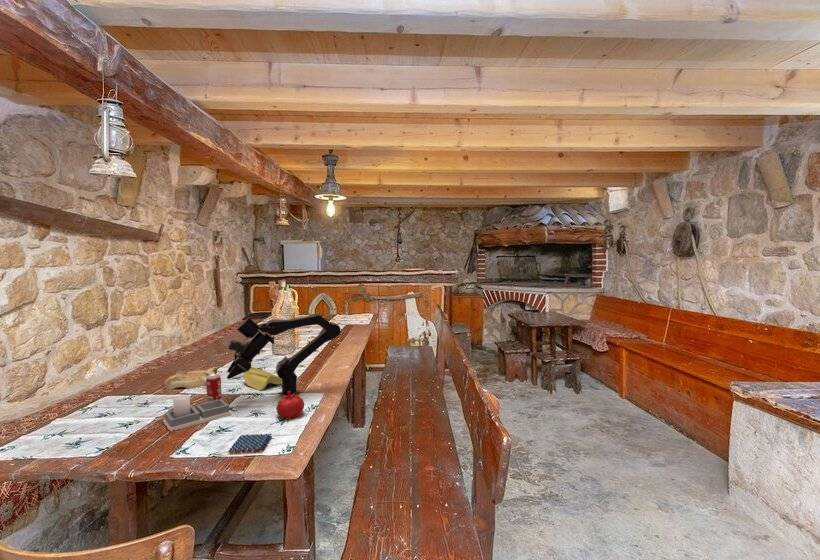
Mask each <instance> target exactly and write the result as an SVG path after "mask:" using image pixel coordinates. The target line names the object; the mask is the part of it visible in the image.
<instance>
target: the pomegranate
mask: <svg viewBox="0 0 820 560" xmlns="http://www.w3.org/2000/svg"><path fill="white" fill-rule="evenodd" d="M290 392H291V391H288V392H287V393H288V396H284V395H279V397H280V400H279V401H278V402H277V405H276V413H277V416H279V417H280V418H282V419H287V420H289V419H293V418H296V417H297V416H298V417H299V415H301V413H302V412H303V411H304V408H305V401H304V399H303V398H302V397H301V395H299V394H295V393H294V394H295V395H294V394H293V395H290Z"/></svg>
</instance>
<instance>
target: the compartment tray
mask: <svg viewBox="0 0 820 560" xmlns="http://www.w3.org/2000/svg"><path fill="white" fill-rule="evenodd" d="M172 402H173V408H172V409H173V410H170V411H166V412H164V418H163V424H164V425H165V427H166V426H167V427H166V428H167V429H168V431H169V430H170V431H171V432H174V431H173V430H175V431H178V429H179V430H182V429H185V428H189V427H194V426H197V425H200V424H203V423H207V422H211V421H215V420H217V419H221V418H225V417H228V416H229V417H230V416H232V411H231V410H230V405H229V403H227V402H226V401H224V400H223V398H222V399H219V400H214V401H210V402H207V401H206V402H203V403H199V404H196V405H195V406H194V405H191V396H190V395H188V394H182V395H178V396H175V397H174V398H172ZM170 431H169V432H170Z"/></svg>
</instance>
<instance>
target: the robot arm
mask: <svg viewBox="0 0 820 560" xmlns="http://www.w3.org/2000/svg"><path fill="white" fill-rule="evenodd" d="M312 325H318V326H320V327H321V328H322V329H321V331H320V332H319V333H318V335H317V336H315V337H314V338H313V339H312V340H310V341H309V342H308V343H307V344H306V345H305V346H303V347H302V348H301V349H300V350H299V351H297V352H296V353H294V355H292V356H290V357H287V355H285V356H284V357H283V358H282V359H280V360H279V361H278V362H277V365H276V366H275V371H276V372H275V373H276V374H277V376H278V377H280V378H281V379H282V382H281V391H280V392H278V395H279V396H281V395H284V396H288V393H287V392H288V391H291V392H290V395H293V394H294V393H295V394H298V395H299V394H300V393H301V392H300V391H299V390H297V379H298V375H297V374H296V372H295V370H297V367H298V366H299V365H300V364H302V363H303V361H305V360H306V359H307V358H308V357H310V356H311V355H312V354H313V353H314V352H316V351H317V350H318V349H319V348H320V347H321V346H323V345H324V344H325V343H328V342H330V341H332V340H334V339H336V338H337V337H339V336H340V334H341V330H342V329H341V327H340V325H338V324H337V323H336V322H334V321H333V322H332V321H331V322H330V321H328V320H327V319H325V318H324V317H323V316H322V315H320V314H319V313H315V314H312V315H306V316H302V317H296V318H290V319H280V318H279V319H269V320H268V321H267V322H265V323H260V324H258V323H257V322H255V321H254V320H253V319H252V317H250V316H248V317H247V319H245V320H243V321H242V322H241V323H240V324H239V325H238V326H237V327H236V329H235V330H236V331H237V332H239V333H240V334H241V335H243V336H244V337H246V339H249V338H251V340H250V341H247V342H246V343H243V342H241V341H238V340H234V339H230V342H229V344H228V347H227V349H228V350H230V351H234V359H233V361H232V362H231V363H230V366H229V367H228V369H227V370H226V372H227V373H228V374H227V376H226V379H227V380H230V379H232V378H234V377H237V376H239V375H240V374H241V375H242V374H244V372H246V371H249V370H250V369H251V367H252V362H253V360H254V358H255V357H257V355H258V356H259V354H261V352H262V350H263V349H264V348H265V347H266V345H268V343H269V342H270V344H272V345H274V344H275V336H277V335H279V334H282V333H284V332H286V331H288V330H289V331H290V330H293V329H299V328H303V327H307V326H308V327H309V326H312ZM295 394H294V395H295ZM284 396H283V397H284Z"/></svg>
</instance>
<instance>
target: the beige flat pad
mask: <svg viewBox="0 0 820 560" xmlns="http://www.w3.org/2000/svg"><path fill="white" fill-rule="evenodd" d="M217 372H218V369H217V368H215V367H210V368H208V369H206V370H202V369H201V370H191V371H185V370H177V371H175V374H173V375H170V377H168V378H167V379H165V380H164V383H163V386H164V389H165V390H173V389H176V388H187V389H189V388H191V389H196V387H197V388H202V387H201V386H203V387H206V379H207V376H209V375H213V374H217Z"/></svg>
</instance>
